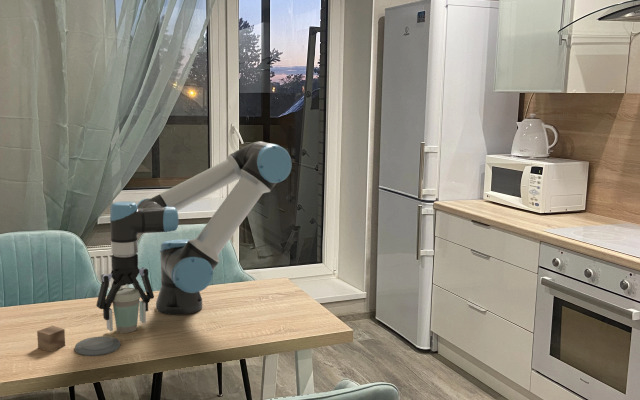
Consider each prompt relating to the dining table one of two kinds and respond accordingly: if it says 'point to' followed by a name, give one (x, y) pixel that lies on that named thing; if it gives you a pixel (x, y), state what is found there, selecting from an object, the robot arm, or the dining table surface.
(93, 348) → the saucer
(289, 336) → the dining table surface
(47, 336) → the walnut block
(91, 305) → the dining table surface
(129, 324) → the coffee cup
